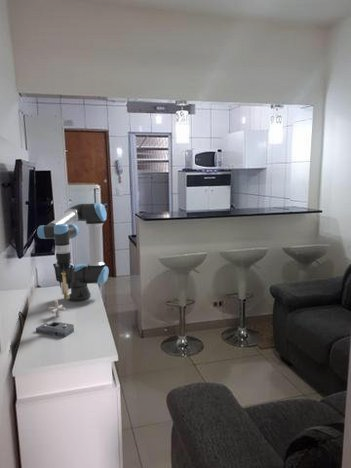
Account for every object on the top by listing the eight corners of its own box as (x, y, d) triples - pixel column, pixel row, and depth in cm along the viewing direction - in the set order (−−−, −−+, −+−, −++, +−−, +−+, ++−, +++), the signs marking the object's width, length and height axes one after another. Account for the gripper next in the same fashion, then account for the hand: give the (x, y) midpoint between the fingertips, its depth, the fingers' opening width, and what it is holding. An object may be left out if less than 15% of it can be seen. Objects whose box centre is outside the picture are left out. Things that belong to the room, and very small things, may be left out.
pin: (66, 296, 200) (64, 270, 198) (72, 297, 198) (70, 271, 196) (61, 299, 196) (59, 272, 194) (67, 299, 195) (65, 273, 192)
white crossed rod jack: (61, 320, 208) (59, 304, 206) (45, 319, 210) (44, 303, 208) (69, 314, 218) (68, 298, 216) (54, 313, 220) (53, 297, 218)
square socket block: (45, 326, 200) (44, 318, 200) (74, 331, 193) (73, 323, 192) (36, 331, 194) (35, 323, 193) (65, 337, 186) (64, 328, 185)
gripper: (46, 253, 193) (50, 294, 197) (70, 254, 187) (73, 297, 190) (56, 250, 200) (59, 290, 203) (79, 251, 194) (82, 293, 197)
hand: (66, 293), depth 197 cm, fingers closed on pin, 3 cm apart
